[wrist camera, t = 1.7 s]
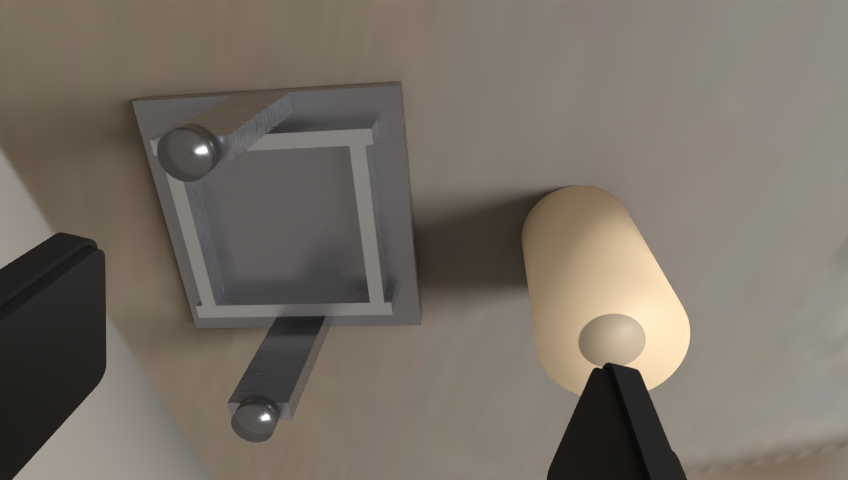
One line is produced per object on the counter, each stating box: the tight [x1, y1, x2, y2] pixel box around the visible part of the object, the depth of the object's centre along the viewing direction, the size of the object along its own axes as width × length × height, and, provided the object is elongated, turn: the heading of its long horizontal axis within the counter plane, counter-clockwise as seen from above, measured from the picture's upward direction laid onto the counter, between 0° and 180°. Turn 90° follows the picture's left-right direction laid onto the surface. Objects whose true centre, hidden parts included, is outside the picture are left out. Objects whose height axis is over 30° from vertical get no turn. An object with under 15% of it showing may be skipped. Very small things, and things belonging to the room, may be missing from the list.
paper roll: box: [522, 186, 690, 396], centre depth 28 cm, size 6×6×10 cm
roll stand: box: [132, 82, 422, 442], centre depth 29 cm, size 14×15×10 cm
